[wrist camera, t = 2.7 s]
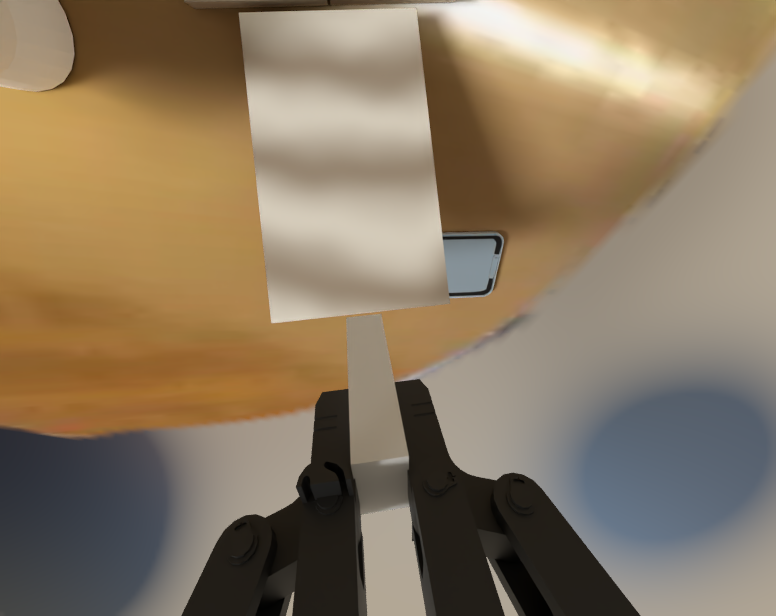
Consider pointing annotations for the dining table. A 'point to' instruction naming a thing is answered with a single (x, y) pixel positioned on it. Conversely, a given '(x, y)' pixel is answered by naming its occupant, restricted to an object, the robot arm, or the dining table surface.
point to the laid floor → (294, 3)
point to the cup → (34, 44)
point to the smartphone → (471, 262)
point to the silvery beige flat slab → (343, 162)
